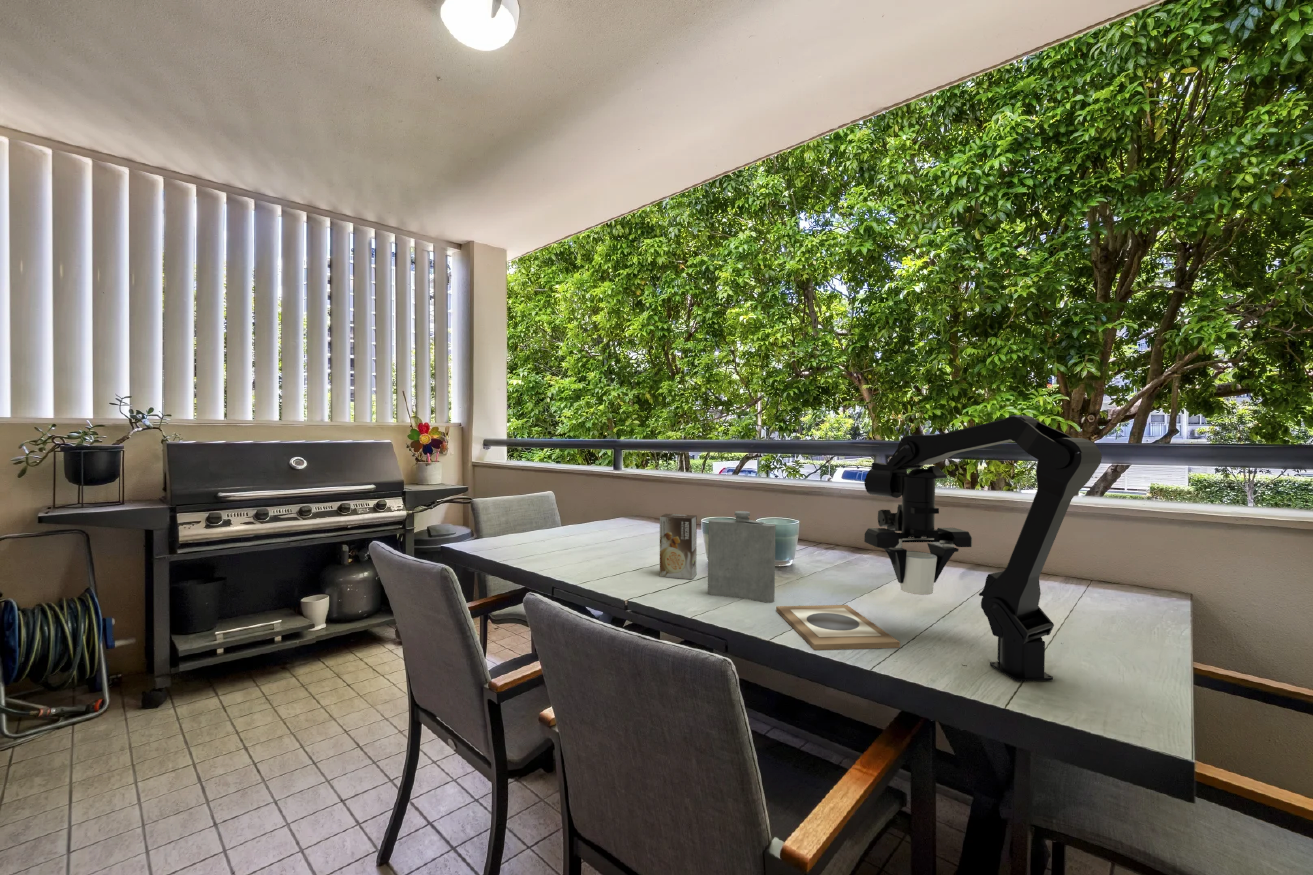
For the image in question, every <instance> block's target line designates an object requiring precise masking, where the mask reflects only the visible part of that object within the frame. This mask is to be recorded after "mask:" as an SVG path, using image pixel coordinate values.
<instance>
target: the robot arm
mask: <svg viewBox="0 0 1313 875" xmlns="http://www.w3.org/2000/svg"><path fill="white" fill-rule="evenodd" d="M1011 442H1014V443H1016V445H1018V446H1019V447H1020V448H1021V449H1022V450H1023V451H1024V452H1025V453H1026V454H1028V455H1029V456H1031V457H1033V458H1034V459H1036V460H1037V463H1036V468H1035V478H1036V486H1037V489H1036V492H1035V495H1034V498H1033V500H1032V503H1031V505H1030V508H1029V510H1028V513H1027V515H1026V517H1025V520H1024V523H1023V525H1022V528H1021V530H1020V533H1019V535H1018V538H1017V540H1016V543H1015V544H1014V548H1013V549H1012V553H1011V555H1010V557H1009V560H1008V563H1007V565H1006V568H1005V569H1004V570H1001V571H996V572H992V573H991V572H990V573H988V574H987V576H986V578H985V582H984V587H983V589H982V591H981V592H979V593H978V596H979V597H982V598H981V601H980V608H981V609H982V610H983V613H984V615H985V617H986V618H987V620H988V625H989V627H990V630H991V633H992V636H994V637H997V661H990V662H989V666H990V667H991V668H994V669H995V670H997V672H1000V673H1001V674H1004V676H1006V677H1008V678H1010V679H1011V680H1013V681H1014V682H1020V683H1021V682H1039V681H1041V682H1043V681H1044V682H1045V681H1046V682H1047V681H1054V676H1053V675H1050V673H1048V672H1046V671H1045V665H1046V664H1045V662H1046V660H1045V659H1046V658H1045V657H1046V641H1044V640H1043V637H1045V636H1050V635H1051V633H1052V631H1053V629H1054V627H1055V623H1054V622H1052V619H1050V617H1048V615H1047V614H1046V613H1045V612H1044V611H1043V609H1041V607H1040V606H1039V605H1040V601H1041V600H1040V599H1041V594H1042V593H1041V584H1040V577H1041V576H1040V575H1041V573H1042V571H1043V570H1044V566H1045V564H1046V562H1047V560H1048V556H1049V554H1050V551H1051V550H1052V547H1053V545H1054V542H1055V540H1056V538H1057V536H1058V532H1059V530H1060V528H1061V526H1062V524H1063V521H1064V518H1065V517H1066V514H1067V511H1068V509H1069V507H1070V504H1071V502H1072V501H1073V498H1074V497H1075V496H1076V495H1077V494H1078V493H1079V492H1080V491H1082V490H1081V489H1083V488H1084V487H1085V486H1086V485H1087V483H1089V481H1090V480H1091V478H1093V476H1094V474H1095V473H1096V471H1097V469H1098V468H1099V467H1100V465H1101V463H1102V459H1103V458H1102V457H1103V455H1102V452H1101V451H1100V449H1099V448H1098V446H1097V445H1096V444H1095V442H1093V441H1091V440H1089V439H1087V438H1083V437H1081V438H1080V437H1072V436H1070V435H1069V434H1067V433H1065V432H1063V431H1060V430H1058V429H1056V428H1053V427H1051V426H1049V425H1047V424H1044V423H1042V422H1041V421H1039V420H1037V419H1035V418H1034V417H1032V416H1030V415H1024V414H1023V415H1020V414H1016V415H1015V414H1013V415H1009V416H1007V417H1005V418H1003V419H997V420H993V421H989V422H985V423H981V424H978V425H972V426H968V427H964V428H961V429H957V430H952V431H949V432H945V433H944V432H943V433H927V434H926V433H925V434H908V435H904V436H902V438H900V440H899V443H898V446H897V449H896V450H895V451H894V453H893V454H892V455H891V457H890V458H889V459H888V461H887V463H885V462H872V463H871V469H869V470H868V472H867V473H866V475H865V478H864V480H863V481H864V488H865V490H866V492H867V493H868V495H871V496H877V497H885V498H892V499H893V498H894V499H898V498H900V497H901V504H897V512H892V511H891V509H879V510H878V511H877V523H878V526H879V527H874V528H873V527H871V528H870V527H868V528H867V529H866V531H865V532H864V538H863V539H864V541H863V542H864V543H865V544H869V545H870V546H873V547H875V548H879V549H882V550H884V551H885V553H886V555H887V556H888V558H889V560H890V562H891V565H892V568H893V571H894V575H895V576H896V579H897V582H898V583H899V584H900V583H903V581H904V576H905V565H906V554H907V551H908V550H907V549H906V548H904V547H903V543H926V545H927V548H928V550H929V553H930V554H934V555H936V556H937V562H936V570H935V578H934V584H935V583H937V581H938V579H939V577H940V575H941V574H942V572H943V570H944V568H945V566H946V565H947V564H948V562H949V560H950V559H951V558H952V556H953V555H954V554H955V553H957V552H959V550H960V549H959V548H972V547H973V537H972V535H971V534H970V532H969V530H968V531H967V530H963V529H960V528H956V527H937V529H935V520H936V519H935V518H936V517H935V515H936V514H938V515H939V514H940V508H939V507H935V506H936V480H938V479H939V480H940V479H941V480H942V479H947V478H948V475H947V474H946V473H945V472H944V471H943V470H941V469H940V467H939V465H934V464H936V463H940V462H942V461H944V460H947V459H948V458H950V457H952V456H953V455H957V454H958V453H963V452H967V451H968V452H969V451H972V450H977V449H982V448H987V447H991V446H996V445H1002V444H1007V443H1011ZM924 466H929V467H927V468H923V467H924ZM907 470H910V471H909V472H908V471H907ZM885 527H886V528H885Z"/></svg>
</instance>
